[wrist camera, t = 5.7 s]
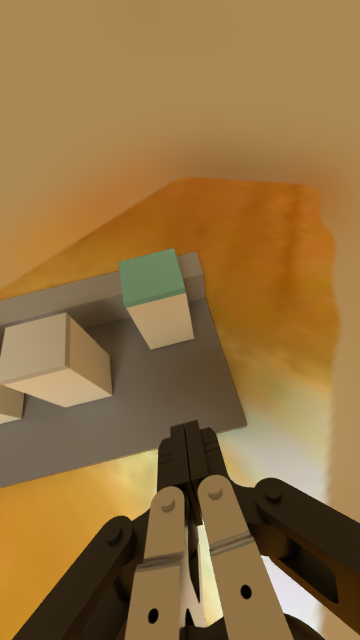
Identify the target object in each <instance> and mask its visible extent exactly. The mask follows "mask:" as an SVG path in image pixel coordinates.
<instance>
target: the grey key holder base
mask: <svg viewBox="0 0 360 640" xmlns="http://www.w3.org/2000/svg"><path fill="white" fill-rule="evenodd" d="M176 258H177V261H178V265H179V268H180V272H181V275H182V279H183V282H184V286H185V290H186V296H187V301H188V307H189V312H190V318H191V323H192V329H193V334H194V339H191V340H187V341H183V342H179V343H175V344H171V345H167V346H163V347H159V348H155V349H151V350H150V348H149V346H148V344H147V343H146V341H145V339H144V338H143V336H142V334H141V333H140V331H139V329H138V327H137V326H136V324H135V322H134V321H133V319H132V317H131V316H130V314H129V312H128V310H127V309H126V307H125V305H124V304H123V296H122V287H121V279H120V271H116V272H112V273H108V274H104V275H100V276H96V277H92V278H88V279H85V280H81V281H77V282H73V283H69V284H65V285H61V286H57V287H53V288H49V289H45V290H41V291H37V292H33V293H29V294H25V295H21V296H17V297H13V298H9V299H6V300H2V301H0V356H1V351H2V345H3V339H4V334H5V328H6V327H10V326H14V325H18V324H22V323H26V322H30V321H34V320H38V319H42V318H46V317H50V316H54V315H58V314H62V313H67V314H68V315H69V316H70V317H71V318H72V319H73V320H74V321H75V322H76V323H77V324H78V325H79V326H80V327H81V328H82V329H83V330H84V331H85V332H86V333H87V334H88V335H89V336H90V337H91V338H92V339H93V340H94V341H95V342H96V343H97V344H98V345H99V346H100V347H101V348H102V349H103V350H104V351H105V352H106V353H107V354H108V355H109V356H110V369H111V383H112V396H109V397H105V398H101V399H98V400H94V401H90V402H86V403H82V404H78V405H74V406H70V407H66V408H65V407H62V406H60V405H57V404H54V403H51V402H48V401H46V400H43V399H40V398H37V397H35V396H32V395H29V394H26V393H24V401H23V410H22V418H21V419H18V420H14V421H10V422H6V423H2V424H0V488H3V487H7V486H11V485H15V484H19V483H23V482H27V481H31V480H35V479H39V478H43V477H47V476H51V475H55V474H59V473H63V472H67V471H71V470H75V469H79V468H83V467H87V466H91V465H95V464H99V463H103V462H107V461H111V460H115V459H119V458H123V457H127V456H131V455H135V454H139V453H143V452H147V451H151V450H155V449H158V448H159V446H160V444H161V441H162V439H166V438H170V427H171V426H174V425H178V424H182V423H184V425H185V423H186V422H190V421H193V420H197V419H198V422H199V426H200V429H204V428H208V427H210V428H211V429H212V430H213V431H214V432H215V433H216V434H218V433H222V432H226V431H230V430H234V429H238V428H242V427H246V426H247V423H246V420H245V417H244V414H243V411H242V408H241V405H240V402H239V399H238V395H237V392H236V389H235V386H234V383H233V380H232V377H231V374H230V371H229V368H228V365H227V362H226V359H225V356H224V353H223V350H222V347H221V344H220V341H219V338H218V335H217V332H216V329H215V326H214V323H213V320H212V317H211V314H210V311H209V308H208V305H207V302H206V299H205V287H204V273H203V271H202V268H201V265H200V262H199V259H198V256H197V253H196V251H195V252H191V253H187V254H183V255H179V256H176Z"/></svg>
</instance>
